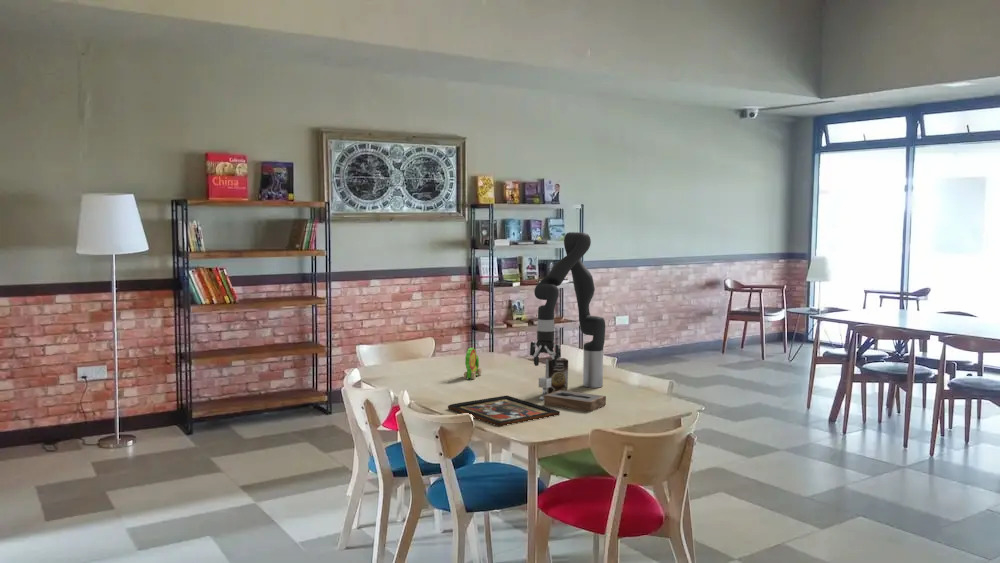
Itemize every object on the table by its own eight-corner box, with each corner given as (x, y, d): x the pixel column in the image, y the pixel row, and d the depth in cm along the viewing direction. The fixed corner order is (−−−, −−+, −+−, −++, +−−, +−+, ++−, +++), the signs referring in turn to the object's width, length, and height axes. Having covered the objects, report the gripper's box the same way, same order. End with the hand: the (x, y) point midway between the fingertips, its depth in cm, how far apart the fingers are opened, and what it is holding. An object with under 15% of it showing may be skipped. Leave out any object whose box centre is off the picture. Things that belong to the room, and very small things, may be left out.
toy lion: (471, 374, 410) (472, 344, 409) (482, 375, 409) (482, 345, 408) (461, 380, 395) (462, 349, 394) (472, 381, 394) (472, 350, 392)
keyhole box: (560, 398, 356) (560, 389, 356) (605, 405, 344) (605, 396, 344) (544, 404, 345) (544, 395, 344) (590, 411, 332) (590, 402, 332)
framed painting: (440, 411, 332) (440, 404, 332) (501, 399, 357) (501, 393, 357) (505, 430, 305) (505, 423, 305) (566, 416, 330) (566, 409, 330)
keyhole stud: (542, 397, 358) (543, 376, 357) (551, 399, 355) (551, 377, 355) (537, 399, 354) (538, 378, 353) (546, 401, 352) (546, 379, 351)
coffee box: (548, 396, 361) (548, 360, 360) (544, 393, 368) (545, 357, 366) (568, 395, 363) (568, 359, 362) (564, 392, 369) (564, 357, 368)
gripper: (564, 330, 352) (563, 367, 353) (536, 327, 360) (535, 363, 361) (555, 331, 345) (554, 369, 347) (527, 329, 353) (526, 366, 354)
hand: (545, 366), depth 354 cm, fingers open, 8 cm apart
